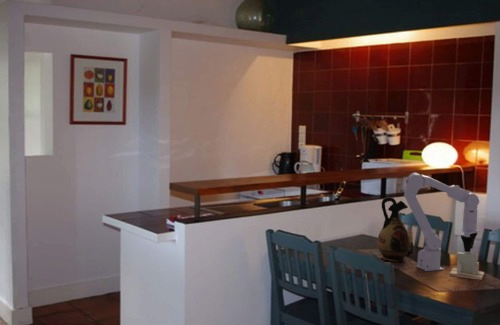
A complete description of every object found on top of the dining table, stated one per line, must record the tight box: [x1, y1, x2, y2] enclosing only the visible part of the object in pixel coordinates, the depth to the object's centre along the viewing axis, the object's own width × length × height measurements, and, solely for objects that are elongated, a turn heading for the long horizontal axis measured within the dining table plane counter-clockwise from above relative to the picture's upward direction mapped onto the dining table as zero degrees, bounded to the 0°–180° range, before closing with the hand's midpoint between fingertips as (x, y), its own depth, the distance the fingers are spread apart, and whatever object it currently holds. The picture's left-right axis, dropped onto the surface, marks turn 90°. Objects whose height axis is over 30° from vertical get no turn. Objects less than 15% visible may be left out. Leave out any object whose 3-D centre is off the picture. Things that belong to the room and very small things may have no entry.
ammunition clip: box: [407, 228, 414, 253], centre depth 292 cm, size 11×2×12 cm, turn 101°
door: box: [456, 251, 479, 273], centre depth 255 cm, size 3×8×8 cm, turn 63°
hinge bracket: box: [449, 261, 485, 281], centre depth 253 cm, size 10×13×5 cm
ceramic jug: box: [376, 196, 411, 263], centre depth 277 cm, size 17×15×30 cm
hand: (468, 250), depth 259 cm, fingers open, 7 cm apart
